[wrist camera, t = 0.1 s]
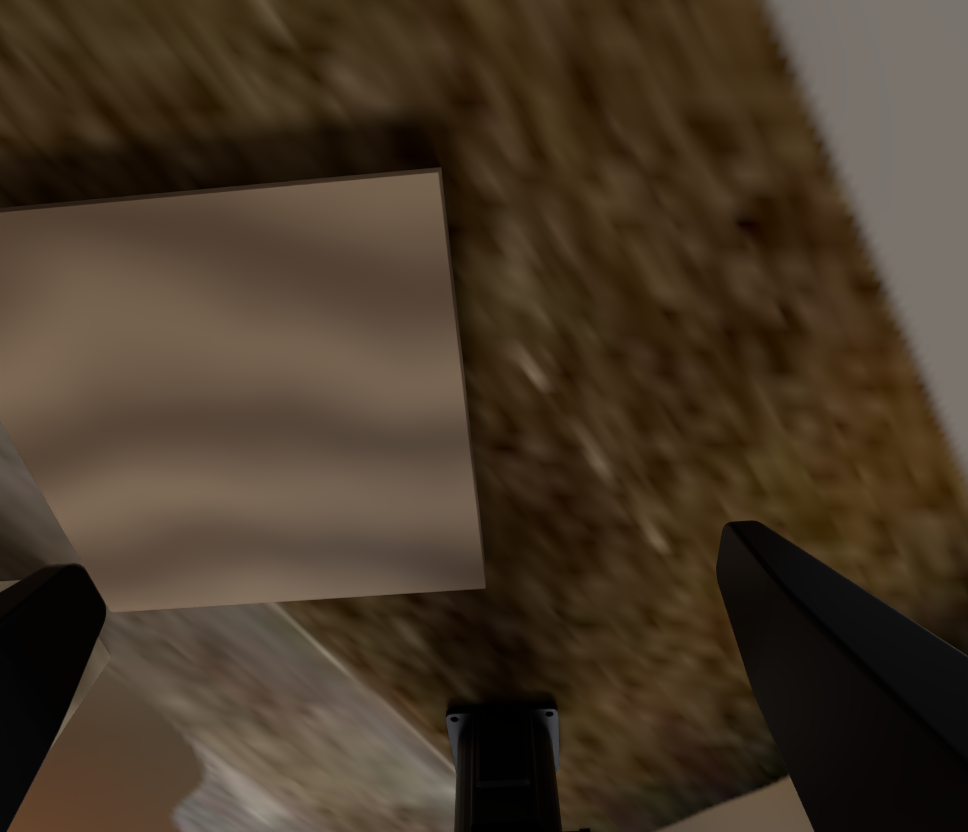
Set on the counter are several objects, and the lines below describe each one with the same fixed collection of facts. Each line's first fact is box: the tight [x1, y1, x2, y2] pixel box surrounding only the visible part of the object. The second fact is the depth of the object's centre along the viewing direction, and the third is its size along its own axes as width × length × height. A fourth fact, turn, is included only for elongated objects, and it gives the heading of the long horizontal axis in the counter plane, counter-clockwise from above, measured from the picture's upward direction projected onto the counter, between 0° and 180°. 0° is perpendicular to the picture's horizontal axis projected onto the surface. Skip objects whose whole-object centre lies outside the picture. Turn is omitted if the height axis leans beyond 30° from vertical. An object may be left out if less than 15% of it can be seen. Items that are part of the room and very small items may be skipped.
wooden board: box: [0, 167, 486, 612], centre depth 23 cm, size 18×18×2 cm
